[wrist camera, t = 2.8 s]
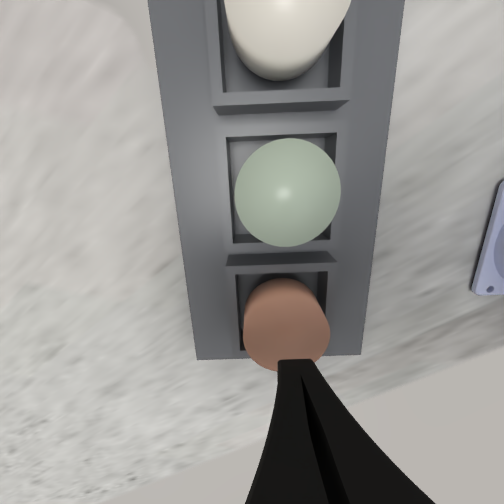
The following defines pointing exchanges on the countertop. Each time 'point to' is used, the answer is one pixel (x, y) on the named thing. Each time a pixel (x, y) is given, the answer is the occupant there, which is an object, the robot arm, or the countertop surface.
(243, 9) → the cream button
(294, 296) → the terracotta button
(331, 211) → the sage button
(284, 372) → the robot arm
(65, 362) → the countertop surface
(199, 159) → the panel
